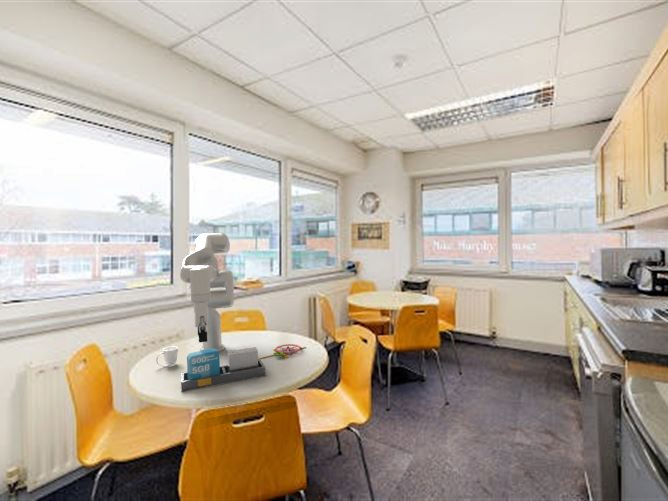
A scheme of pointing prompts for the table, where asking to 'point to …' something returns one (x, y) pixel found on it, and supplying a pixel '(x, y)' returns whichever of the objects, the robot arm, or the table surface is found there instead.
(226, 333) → the table surface
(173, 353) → the cup
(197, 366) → the data package
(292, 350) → the mechanical gear assembly
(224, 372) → the rack
